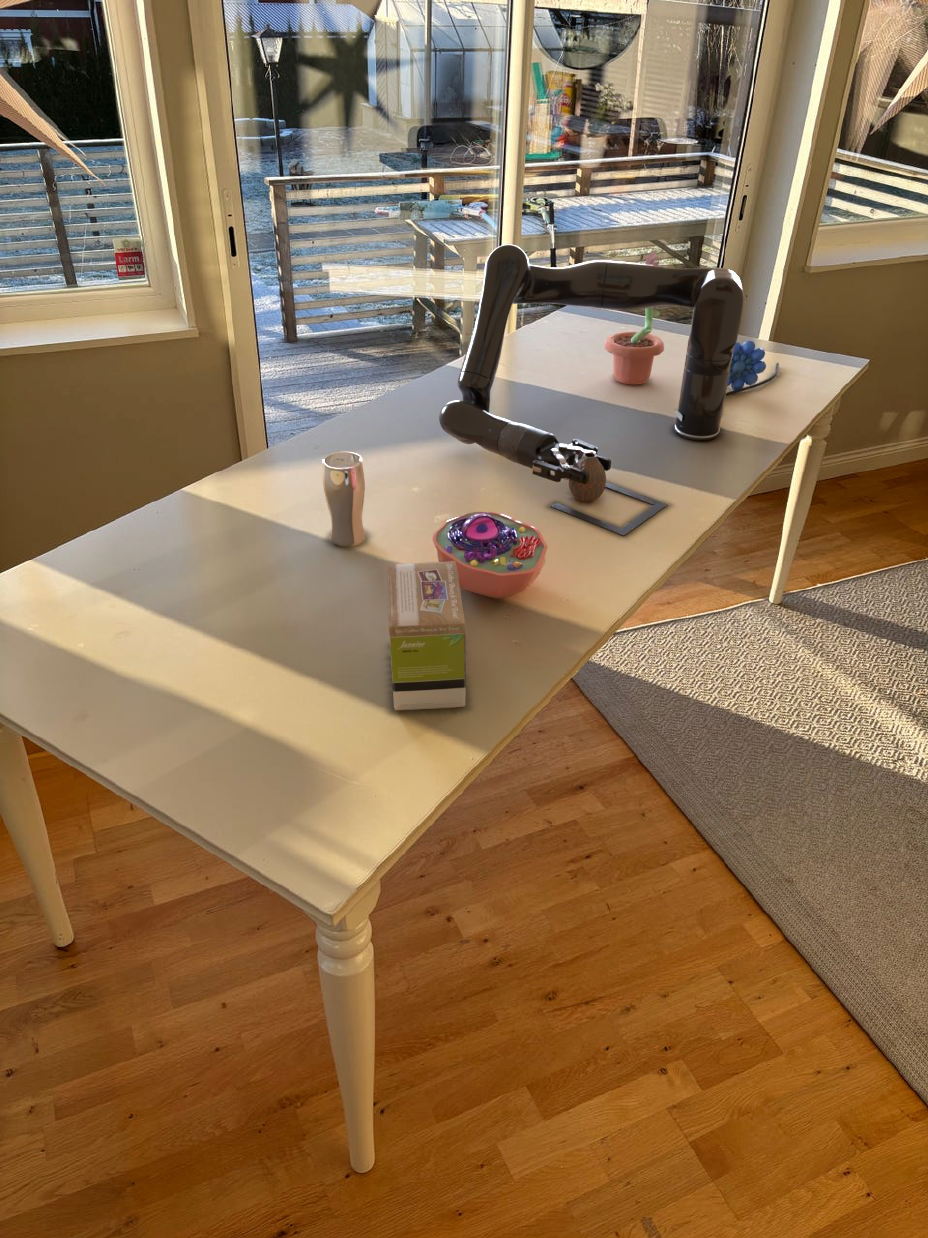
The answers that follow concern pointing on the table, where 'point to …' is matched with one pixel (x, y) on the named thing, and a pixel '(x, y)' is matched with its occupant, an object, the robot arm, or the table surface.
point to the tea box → (426, 636)
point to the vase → (595, 482)
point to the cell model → (491, 552)
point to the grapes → (746, 365)
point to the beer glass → (345, 497)
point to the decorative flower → (635, 347)
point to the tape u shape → (621, 531)
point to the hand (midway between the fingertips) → (598, 472)
